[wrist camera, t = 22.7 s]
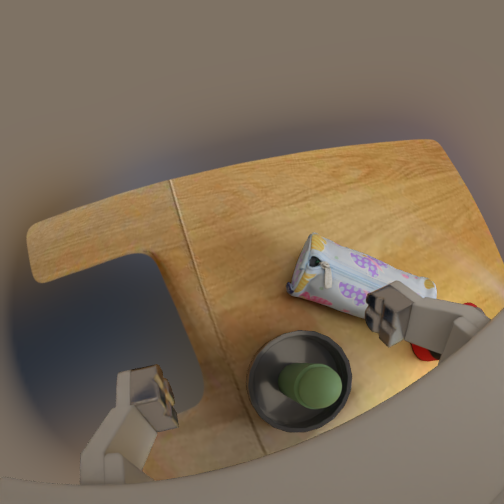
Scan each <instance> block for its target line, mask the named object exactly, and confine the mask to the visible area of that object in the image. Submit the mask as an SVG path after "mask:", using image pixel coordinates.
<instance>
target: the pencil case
mask: <svg viewBox="0 0 504 504" xmlns="http://www.w3.org/2000/svg"><path fill="white" fill-rule="evenodd" d="M394 281H400V282H402V283H403V284H404V285H406V286H407V287H409V288H410V289H411V290H413V291H414V292H416V293H417V294H418V295H420V296H421V297H422V298H425V297H429V298H434V299H436V296H437V290H436V286H435V284H434V282H432V281H431V280H430V279H429V278H426V277H418V276H415V275H412V274H410V273H407V272H404V271H402V270H398V269H395V268H394V267H392V266H390V265H388V264H386V263H384V262H382V261H380V260H378V259H376V258H373V257H371V256H369V255H367V254H364V253H361V252H358V251H355V250H353V249H349V248H347V247H343V246H340V245H338V244H336V243H334V242H333V241H331V240H329V239H326V238H323V237H321V236H320V235H319V234H317V233H314V232H313V233H312V234H310V235H309V237H308V239H307V241H306V243H305V244H304V247H303V249H302V252H301V254H300V256H299V259H298V261H297V264H296V267H295V270H294V273H293V277H292V282H291V283H289V282H288V283H287V285H286V289H287V292H288V293H289V294H290V295H291V296H295V297H300V298H303V299H306V300H311V301H314V302H317V303H320V304H323V305H325V306H328V307H331V308H334V309H336V310H338V311H341V312H344V313H348V314H350V315H353V316H357V317H360V318H363V319H365V310H366V308H367V307H368V304H367V303H366V296H367V294H368V293H370V292H372V291H375V290H377V289H379V288H381V287H383V286H386V285H388V284H390V283H392V282H394Z"/></svg>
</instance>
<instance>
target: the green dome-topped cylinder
mask: <svg viewBox="0 0 504 504" xmlns="http://www.w3.org/2000/svg"><path fill="white" fill-rule="evenodd" d="M278 386H279V389H280V390H281V392H282V393H283V394H284V395H285V396H287V397H289V398H290V399H292V400H294V401H296V402H297V403H299V404H301V405H302V406H304V407H306V408H310V409H320V408H325V407H328V406H330V405H331V404H333V403H334V402H335V401H336V400H337V399H338V398H339V396H340V394H341V390H342V383H341V379H340V377H339V375H338V374H337V373H336V372H335V371H334V370H333V369H332V368H330V367H329V366H327V365H324V364H313V363H292V364H289V365H287V366H286V367H285V368H284V369H283V370H282V371H281V373H280V375H279V378H278Z"/></svg>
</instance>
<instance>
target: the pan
mask: <svg viewBox="0 0 504 504" xmlns="http://www.w3.org/2000/svg"><path fill="white" fill-rule="evenodd" d="M292 363H313V364H324V365H327V366H329V367H330V368H332V369H333V370H334V371H335V372H336V373H337V374H338V375H339V377H340V379H341V383H342V390H341V394H340V396H339V398H338V399H337V400H336V401H335V402H334V403H333V404H331V405H330V406H328V407H325V408H320V409H310V408H306V407H304V406H302V405H301V404H299V403H297V402H296V401H294V400H292V399H290V398H289V397H287V396H285V395H284V394H283V393H282V392H281V390H280V389H279V386H278V378H279V375H280V373H281V371H282V370H283V369H284V368H285V367H286V366H287V365H289V364H292ZM351 383H352V373H351V368H350V364H349V360H348V358H347V357H346V355H345V353H344V352H343V350H342V348H341V347H340V346H339V345H338V344H337V343H335V342H334V341H333V340H332V339H331V338H329V337H327V336H325V335H322V334H320V333H318V332H315V331H303V330H298V331H294V332H289V333H285V334H282V335H280V336H277V337H276V338H274V339H272V340H270V341H269V342H267V343H265V344H264V345H263V346H262V347H261V348H260V349H259V350H258V351H257V353H256V354H255V355H254V357H253V359H252V360H251V362H250V365H249V367H248V370H247V376H246V388H247V393H248V397H249V400H250V402H251V403H252V405H253V407H254V408H255V410H256V411H257V413H258V414H259V416H260V417H261V418H262V419H263V420H264V421H266V422H267V423H268V424H270V425H271V426H272V427H274V428H277V429H280V430H283V431H286V432H308V431H311V430H314V429H317V428H320V427H322V426H324V425H325V424H327V423H328V422H330V421H331V420H332V419H334V418H335V417H336V416H337V414H338V413H339V412H340V411H341V409H342V408H343V407H344V406H345V403H346V401H347V399H348V396H349V394H350V391H351Z"/></svg>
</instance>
